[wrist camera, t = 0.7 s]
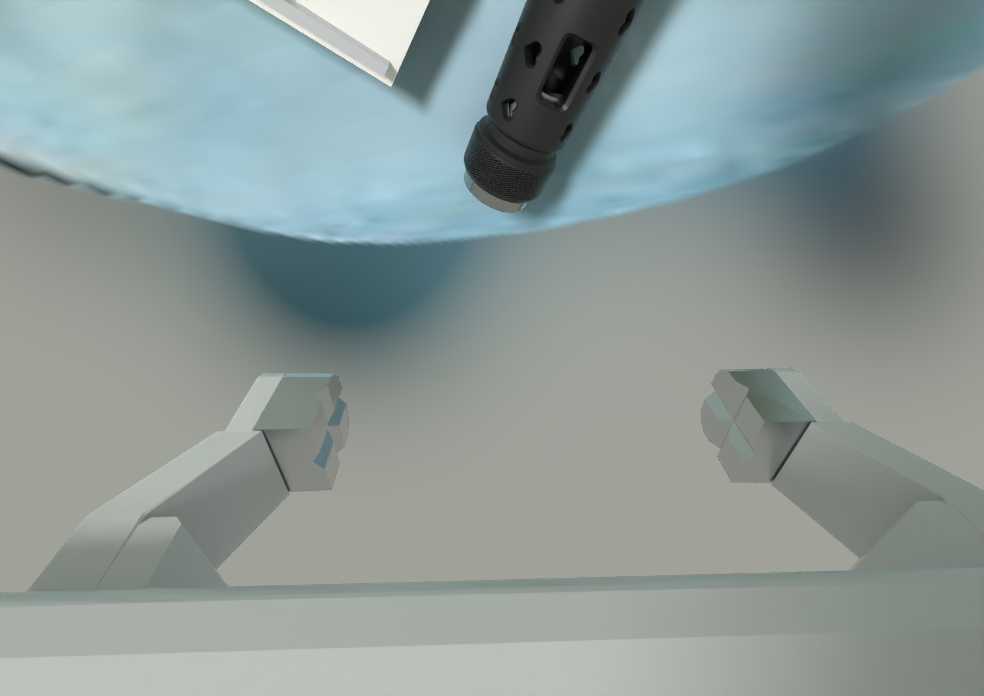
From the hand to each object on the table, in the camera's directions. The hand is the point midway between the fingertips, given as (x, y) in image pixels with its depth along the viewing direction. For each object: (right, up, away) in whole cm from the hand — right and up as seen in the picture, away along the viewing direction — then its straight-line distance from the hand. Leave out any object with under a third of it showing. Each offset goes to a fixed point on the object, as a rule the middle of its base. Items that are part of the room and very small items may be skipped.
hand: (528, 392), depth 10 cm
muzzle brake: (+5, +32, +35) cm, 48 cm away
